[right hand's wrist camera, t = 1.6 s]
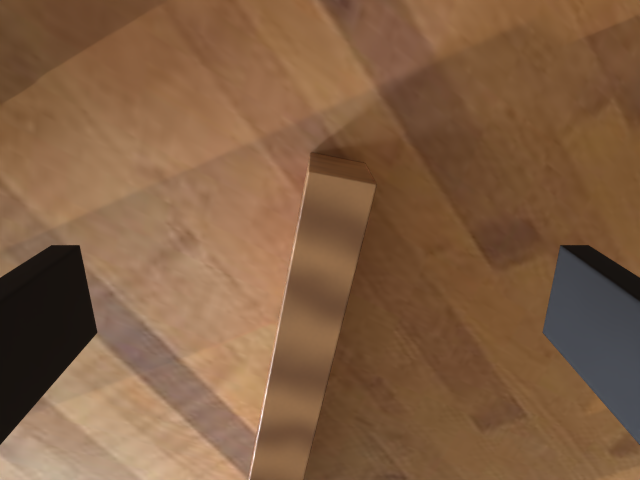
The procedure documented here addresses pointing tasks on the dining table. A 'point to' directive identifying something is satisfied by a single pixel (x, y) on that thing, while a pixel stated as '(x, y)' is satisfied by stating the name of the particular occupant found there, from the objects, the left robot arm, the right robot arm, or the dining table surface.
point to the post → (311, 312)
